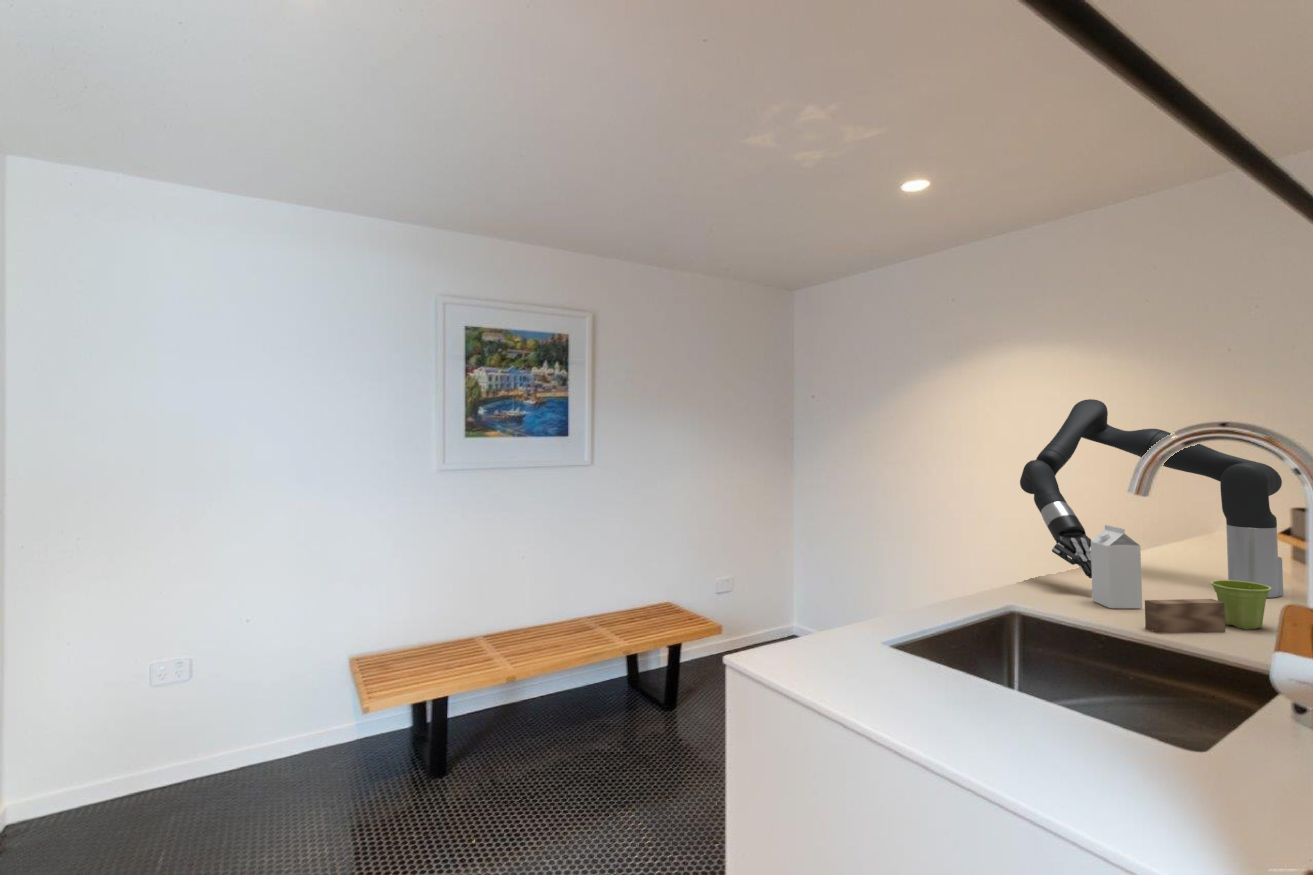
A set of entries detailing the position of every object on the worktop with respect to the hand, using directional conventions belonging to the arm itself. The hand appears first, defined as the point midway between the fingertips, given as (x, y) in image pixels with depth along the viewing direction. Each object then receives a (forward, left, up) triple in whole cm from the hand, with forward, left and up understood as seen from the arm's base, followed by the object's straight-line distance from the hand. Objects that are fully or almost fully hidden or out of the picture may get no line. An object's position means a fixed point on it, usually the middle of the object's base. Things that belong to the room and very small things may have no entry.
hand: (1094, 576), depth 155 cm
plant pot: (-14, +24, -5) cm, 29 cm away
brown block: (0, +27, -5) cm, 27 cm away
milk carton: (0, +7, -5) cm, 9 cm away
